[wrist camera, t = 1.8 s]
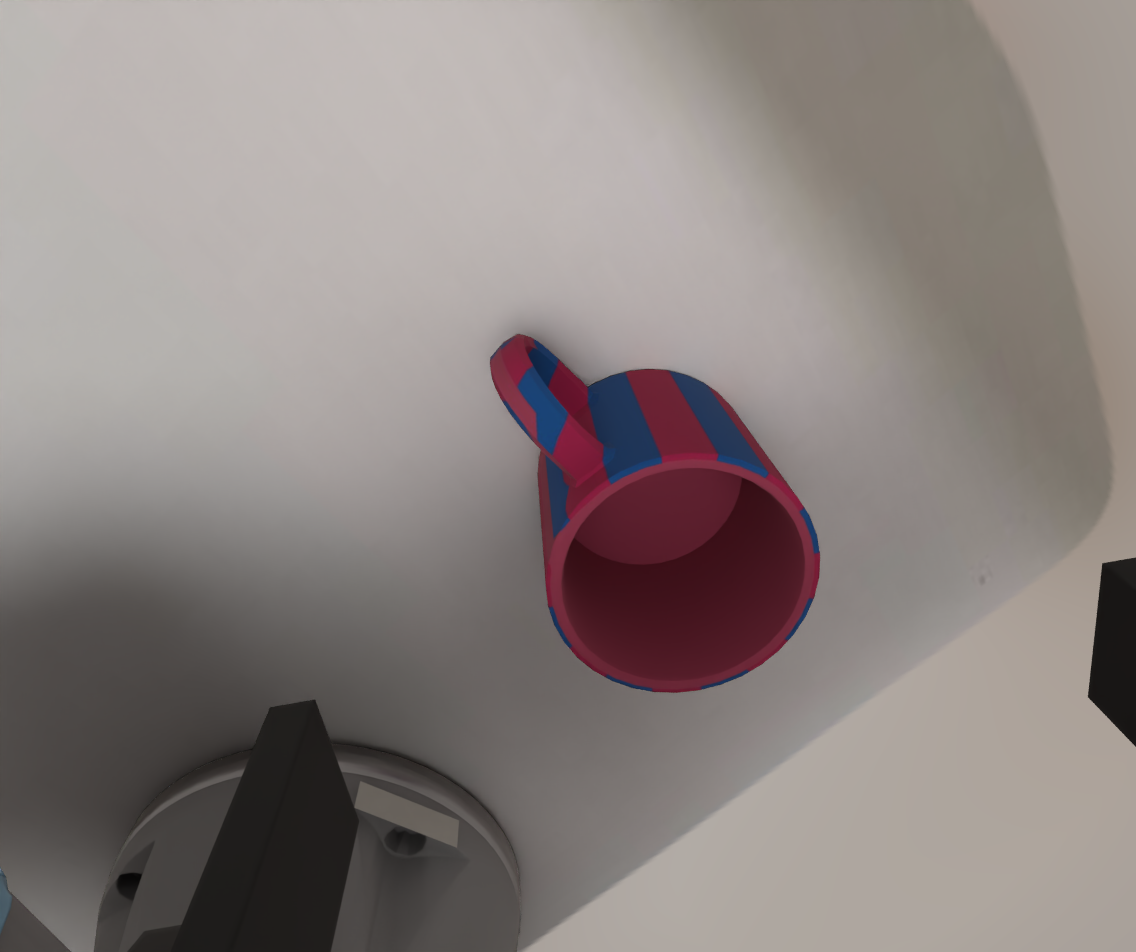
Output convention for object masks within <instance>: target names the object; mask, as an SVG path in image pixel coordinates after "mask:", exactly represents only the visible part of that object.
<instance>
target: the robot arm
mask: <svg viewBox="0 0 1136 952" xmlns="http://www.w3.org/2000/svg"><path fill="white" fill-rule="evenodd" d="M1088 698H1089V699H1090V700H1091V701H1092V702H1093V703H1094V704H1095V705H1096V706H1097V707H1098V708H1099V709H1100V710H1101V711H1102V712H1103V713H1104V714H1105V715H1106V716H1107V717H1108V718H1109V719H1110V720H1111V721H1112V722H1113V724H1115V726H1116V727H1117V728H1118V729H1119V730H1120V731H1121V732H1122V733H1123V734H1124V735H1125V736H1126V737H1127V738H1128V739H1129V740H1130V741H1131V742H1132V743H1133V744H1134V745H1135V746H1136V558H1131V559H1125V560H1119V561H1114V562H1108V563H1103V564H1102V572H1101V582H1100V590H1099V600H1098V609H1097V618H1096V628H1095V637H1094V646H1093V655H1092V665H1091V673H1090V683H1089V692H1088ZM520 921H521V902H520V877H519V872H518V867H517V863H516V860H515V857H514V854H513V851H512V848H511V846H510V844H509V842H508V840H507V838H506V836H505V835H504V833H503V832H502V830H501V829H500V827H499V825H498V824H497V823H496V821H495V820H494V819H493V818H492V817H491V815H490V814H489V813H488V812H487V811H486V810H485V809H484V808H483V807H482V806H481V805H480V804H479V803H478V802H477V801H476V800H475V799H474V798H473V797H472V796H470V795H469V794H468V793H467V792H465V791H464V790H463V789H462V788H460V787H459V786H457V785H456V784H454V783H453V782H451V781H450V780H448V779H447V778H445V777H443V776H441V775H439V774H438V773H436V772H434V771H432V770H430V769H428V768H426V767H424V766H421V765H419V764H417V763H414V762H412V761H410V760H407V759H404V758H401V757H398V756H395V755H392V754H388V753H384V752H381V751H377V750H373V749H368V748H362V747H356V746H351V745H341V744H331V742H330V739H329V736H328V734H327V731H326V728H325V726H324V723H323V720H322V717H321V715H320V712H319V709H318V706H317V704H316V701H315V700H310V701H304V702H298V703H292V704H286V705H281V706H275V707H270V708H269V711H268V713H267V716H266V718H265V721H264V723H263V725H262V728H261V730H260V733H259V735H258V738H257V740H256V743H255V745H254V748H253V749H251V750H247V751H242V752H239V753H236V754H233V755H229V756H226V757H223V758H221V759H218V760H216V761H213V762H211V763H208V764H206V765H204V766H202V767H200V768H198V769H196V770H194V771H192V772H190V773H188V774H187V775H185V776H184V777H182V778H181V779H179V780H177V781H176V782H174V783H173V784H172V785H170V786H169V787H168V788H167V789H165V790H164V791H163V792H162V793H161V794H159V795H158V796H157V797H156V798H155V799H154V800H153V801H152V802H151V803H150V804H149V806H148V807H147V808H146V809H145V810H144V812H143V813H142V814H141V816H140V817H139V818H138V820H137V821H136V823H135V825H134V826H133V828H132V830H131V832H130V833H129V835H128V837H127V839H126V841H125V843H124V845H123V847H122V849H121V851H120V853H119V854H118V856H117V858H116V860H115V863H114V865H113V868H112V870H111V872H110V875H109V879H108V882H107V885H106V888H105V891H104V894H103V897H102V901H101V904H100V909H99V915H98V922H97V930H96V938H95V946H94V952H517V946H518V937H519V933H520ZM0 952H71V951H70V950H69V949H68V948H67V947H66V946H65V945H64V944H63V943H62V942H61V941H60V940H59V939H58V938H57V937H56V936H55V935H54V934H53V933H52V932H51V931H50V930H48V929H47V928H46V927H45V926H44V925H43V924H42V923H41V922H40V921H39V920H38V919H37V918H36V917H35V916H34V915H33V914H32V913H31V912H30V911H29V910H28V909H27V908H26V907H25V906H24V905H23V904H22V903H21V902H20V901H19V900H18V899H17V898H16V897H15V896H14V895H13V894H12V893H11V892H10V891H9V890H8V886H7V880H6V877H5V875H4V873H3V871H2V869H1V867H0Z"/></svg>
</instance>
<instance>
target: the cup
mask: <svg viewBox="0 0 1136 952" xmlns="http://www.w3.org/2000/svg"><path fill="white" fill-rule="evenodd" d="M490 367H491V374H492V379H493V382H494V385H495V388H496V390H497V392H498V394H499V396H500V398H501V400H502V401H503V403H504V405H505V406H506V408H507V409H508V411H509V412H510V414H511V415H512V417H513V418H514V419H515V420H516V422H517V423H518V424H519V426H520V427H521V428H522V429H523V430H524V432H525V433H526V434H527V435H528V436H529V437H530V438H531V440H532V441H533V442H534V443H535V444H536V445H537V446H538V447H539V448H540V449H541V452H540V456H539V464H538V487H539V500H540V514H541V527H542V541H543V555H544V568H545V582H546V592H547V601H548V607H549V610H550V613H551V616H552V619H553V622H554V625H555V627H556V629H557V630H558V632H559V634H560V636H561V637H562V639H563V641H564V643H565V644H566V645H567V646H568V647H569V648H570V650H571V651H572V652H573V653H574V654H575V655H576V657H577V658H578V659H580V660H581V661H582V662H583V663H585V664H586V665H587V666H588V667H590V668H591V669H592V670H593V671H595V672H597V673H599V674H601V675H602V676H604V677H606V678H608V679H610V680H612V681H614V682H617V683H620V684H623V685H625V686H628V687H631V688H635V689H641V690H646V691H652V692H671V693H678V692H687V691H696V690H702V689H706V688H709V687H713V686H717V685H721V684H724V683H726V682H728V681H731V680H733V679H736V678H738V677H741V676H743V675H744V674H746V673H748V672H750V671H751V670H753V669H755V668H756V667H758V666H760V665H761V664H763V663H764V662H765V661H766V660H768V659H769V658H770V657H771V656H773V655H774V654H775V653H776V652H778V651H779V650H780V649H781V648H782V647H783V646H784V644H785V643H786V642H787V641H788V640H789V639H790V638H791V637H792V636H793V635H794V633H795V632H796V630H797V629H798V627H799V626H800V624H801V623H802V621H803V620H804V618H805V617H806V615H807V612H808V610H809V608H810V606H811V603H812V601H813V599H814V596H815V592H816V588H817V584H818V579H819V570H820V552H819V546H818V540H817V534H816V532H815V529H814V527H813V524H812V521H811V519H810V516H809V514H808V513H807V511H806V510H805V508H804V507H803V505H802V504H801V502H800V501H799V499H798V497H797V496H796V495H795V493H794V492H793V491H792V489H791V488H790V486H789V485H788V484H787V482H786V481H785V480H784V478H783V477H782V476H781V474H780V473H779V471H778V470H777V469H776V467H775V466H774V465H773V463H772V462H771V460H770V459H769V458H768V456H767V455H766V454H765V452H764V451H763V450H762V448H761V447H760V445H759V444H758V443H757V441H756V440H755V439H754V437H753V436H752V434H751V433H750V432H749V430H748V429H747V428H746V426H745V425H744V424H743V422H742V421H741V419H740V418H739V417H738V415H737V414H736V413H735V411H734V410H733V408H732V407H731V406H730V405H729V404H728V403H727V402H726V401H725V400H724V399H723V398H722V396H721V395H720V394H719V393H717V392H716V391H715V390H713V389H712V388H710V387H709V386H707V385H706V384H704V383H703V382H701V381H699V380H696V379H694V378H692V377H690V376H687V375H684V374H680V373H676V372H672V371H668V370H654V369H645V370H635V371H628V372H624V373H620V374H617V375H613V376H610V377H608V378H605V379H603V380H601V381H599V382H597V383H595V384H592V385H591V386H589V387H587V386H586V385H585V384H584V383H583V382H582V381H581V380H580V379H579V378H577V377H576V376H575V375H574V374H573V373H572V372H571V371H570V370H569V369H568V368H567V367H566V366H565V365H564V364H563V363H562V362H561V361H560V360H559V359H558V358H557V357H556V356H554V355H553V354H552V353H551V352H550V351H549V350H548V349H547V348H545V347H544V346H543V345H542V344H540V343H539V342H538V341H536V340H534V339H533V338H531V337H528V336H525V335H520V334H517V335H515V336H513V337H512V338H510V339H509V340H507V341H505V342H504V343H503V344H502V345H501V346H500V347H499V348H498V349H497V350H496V352H495V353H494V354H493V355H492V356H491V359H490Z"/></svg>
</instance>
